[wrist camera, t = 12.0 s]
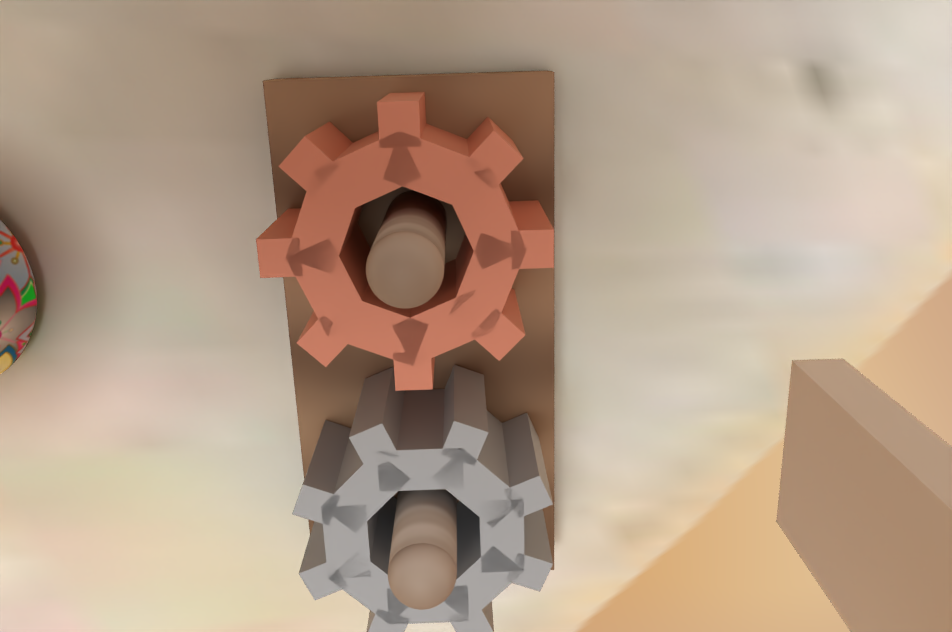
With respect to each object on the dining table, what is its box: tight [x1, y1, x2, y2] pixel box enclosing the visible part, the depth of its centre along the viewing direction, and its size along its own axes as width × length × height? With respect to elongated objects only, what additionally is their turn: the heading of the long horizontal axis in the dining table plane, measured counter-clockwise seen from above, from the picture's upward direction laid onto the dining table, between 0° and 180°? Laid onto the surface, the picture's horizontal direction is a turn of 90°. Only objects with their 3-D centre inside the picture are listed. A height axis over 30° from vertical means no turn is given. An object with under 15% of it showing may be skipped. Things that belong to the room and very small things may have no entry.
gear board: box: [263, 70, 554, 610], centre depth 29 cm, size 20×10×10 cm, turn 2°
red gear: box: [256, 92, 554, 391], centre depth 28 cm, size 9×9×5 cm
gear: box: [292, 365, 553, 632], centre depth 31 cm, size 9×9×5 cm
